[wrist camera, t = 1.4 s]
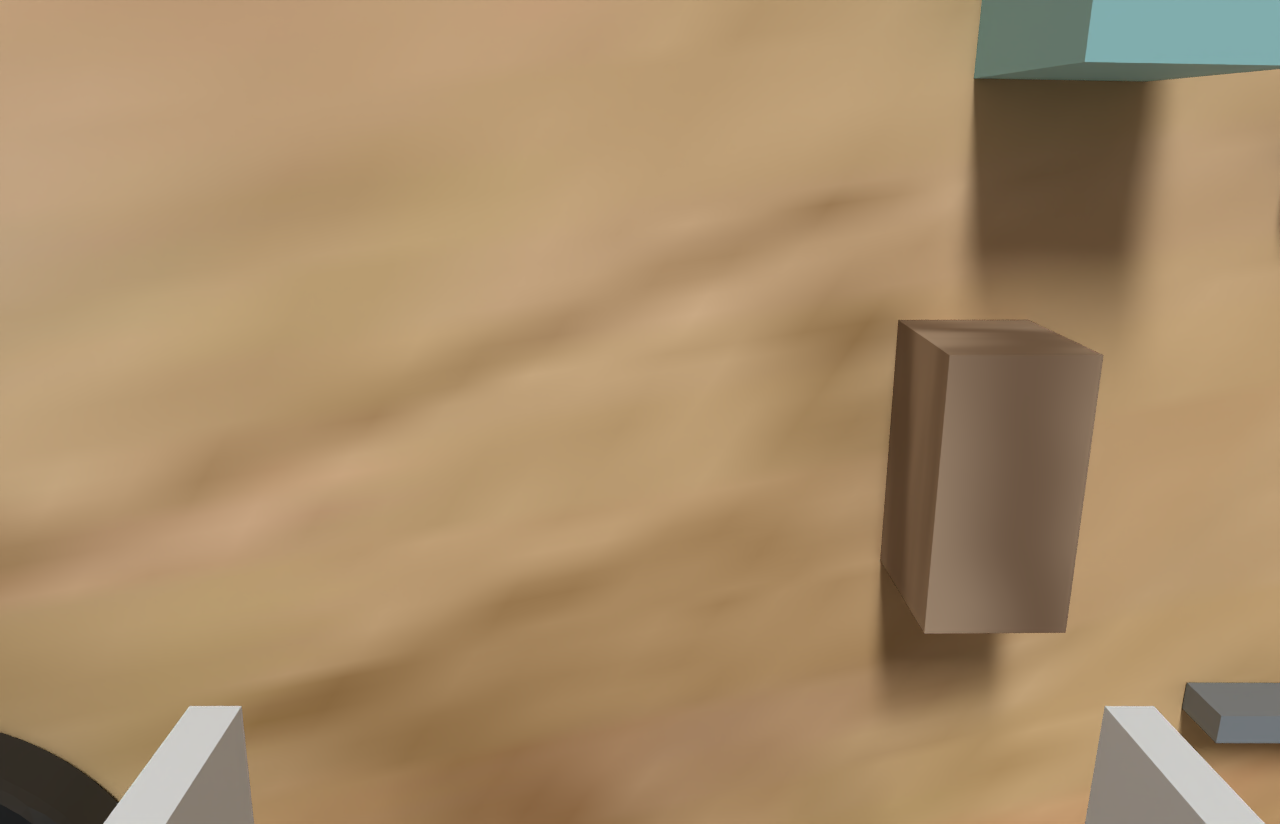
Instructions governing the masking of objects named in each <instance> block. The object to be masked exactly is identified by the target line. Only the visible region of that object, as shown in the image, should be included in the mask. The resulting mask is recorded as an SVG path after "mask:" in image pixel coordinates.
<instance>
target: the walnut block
mask: <svg viewBox="0 0 1280 824" xmlns="http://www.w3.org/2000/svg"><path fill="white" fill-rule="evenodd" d="M1102 361H1103V355H1102V354H1100V353H1098V352H1096V351H1094V350H1091V349H1089V348H1087V347H1085V346H1083V345H1081V344H1079V343H1077V342H1074V341H1072V340H1070V339H1068V338H1066V337H1064V336H1062V335H1060V334H1057V333H1055V332H1053V331H1051V330H1049V329H1047V328H1045V327H1042V326H1040V325H1038V324H1036V323H1034V322H1032V321H1030V320H898V333H897V346H896V360H895V373H894V386H893V399H892V412H891V426H890V439H889V452H888V465H887V479H886V492H885V505H884V518H883V532H882V545H881V558H880V561H881V562H882V564H883V566H884V567H885V569H886V571H887V572H888V574H889V576H890V577H891V579H892V581H893V582H894V584H895V586H896V587H897V589H898V591H899V592H900V594H901V596H902V597H903V599H904V601H905V602H906V604H907V606H908V607H909V609H910V611H911V612H912V614H913V616H914V617H915V619H916V621H917V622H918V624H919V626H920V627H921V629H922V631H923V632H924V634H939V633H1066V625H1067V618H1068V611H1069V603H1070V596H1071V589H1072V581H1073V574H1074V567H1075V559H1076V552H1077V545H1078V537H1079V530H1080V523H1081V515H1082V508H1083V501H1084V493H1085V486H1086V479H1087V471H1088V464H1089V457H1090V449H1091V442H1092V435H1093V427H1094V420H1095V413H1096V405H1097V398H1098V391H1099V383H1100V376H1101V369H1102Z"/></svg>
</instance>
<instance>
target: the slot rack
mask: <svg viewBox="0 0 1280 824" xmlns="http://www.w3.org/2000/svg"><path fill="white" fill-rule="evenodd" d="M1182 709H1183V710H1184V711H1185V712H1186V713H1187V714H1188V715H1189V716H1190V717H1191V718H1192V719H1193V720H1194V721H1195V722H1196V723H1197V724H1198V725H1199V726H1200V727H1201V728H1202V729H1203V730H1204V731H1205V732H1206V733H1207V734H1208V735H1209V736H1210V737H1211V738H1212V739H1213V741H1214V742H1215V743H1280V683H1187V686H1186V691H1185V696H1184V701H1183V707H1182Z"/></svg>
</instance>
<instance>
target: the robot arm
mask: <svg viewBox="0 0 1280 824" xmlns="http://www.w3.org/2000/svg"><path fill="white" fill-rule="evenodd" d="M0 824H254V820H253V810H252V801H251V791H250V782H249V772H248V763H247V753H246V744H245V734H244V725H243V716H242V706H189V708H188V709H187V710H186V712H185V713H184V714H183V716H182V717H181V718H180V720H179V721H178V723H177V724H176V725H175V727H174V728H173V729H172V731H171V732H170V733H169V735H168V736H167V738H166V739H165V740H164V742H163V743H162V744H161V746H160V747H159V748H158V750H157V751H156V753H155V754H154V755H153V757H152V758H151V759H150V761H149V762H148V763H147V765H146V766H145V767H144V769H143V770H142V772H141V773H140V774H139V776H138V777H137V778H136V780H135V781H134V782H133V784H132V785H131V787H130V788H129V789H128V791H127V792H126V793H125V795H124V796H123V797H122V799H121V800H120V802H119V803H117V802H116V801H115V800H114V799H113V798H112V797H111V796H110V795H109V794H108V793H107V792H106V791H105V790H104V789H102V788H101V787H100V786H99V785H98V784H97V783H95V782H94V781H93V780H91V779H90V778H89V777H87V776H86V775H85V774H83V773H82V772H81V771H79V770H78V769H76V768H75V767H73V766H72V765H70V764H69V763H67V762H65V761H64V760H62V759H60V758H58V757H56V756H55V755H53V754H51V753H49V752H47V751H45V750H43V749H41V748H39V747H37V746H35V745H32V744H30V743H28V742H25V741H23V740H20V739H18V738H15V737H12V736H9V735H6V734H4V733H0ZM1085 824H1265V823H1264V822H1263V821H1262V820H1261V819H1260V818H1259V817H1258V816H1257V815H1256V814H1255V813H1254V812H1253V811H1252V810H1251V808H1250V807H1249V806H1248V805H1247V804H1246V803H1245V802H1244V801H1243V800H1242V799H1241V798H1240V797H1239V796H1238V795H1237V794H1236V793H1235V792H1234V790H1233V789H1232V788H1231V787H1230V786H1229V785H1228V784H1227V783H1226V782H1225V781H1224V780H1223V779H1222V778H1221V777H1220V776H1219V775H1218V774H1217V773H1216V771H1215V770H1214V769H1213V768H1212V767H1211V766H1210V765H1209V764H1208V763H1207V762H1206V761H1205V760H1204V759H1203V758H1202V757H1201V756H1200V755H1199V753H1198V752H1197V751H1196V750H1195V749H1194V748H1193V747H1192V746H1191V745H1190V744H1189V743H1188V742H1187V741H1186V740H1185V739H1184V738H1183V737H1182V736H1181V734H1180V733H1179V732H1178V731H1177V730H1176V729H1175V728H1174V727H1173V726H1172V725H1171V724H1170V723H1169V722H1168V721H1167V720H1166V719H1165V718H1164V717H1163V715H1162V714H1161V713H1160V712H1159V711H1158V710H1157V709H1156V708H1155V707H1154V706H1105V708H1104V714H1103V720H1102V726H1101V732H1100V738H1099V744H1098V750H1097V756H1096V762H1095V768H1094V773H1093V779H1092V785H1091V791H1090V797H1089V803H1088V809H1087V815H1086V821H1085Z"/></svg>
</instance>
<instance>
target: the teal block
mask: <svg viewBox="0 0 1280 824" xmlns="http://www.w3.org/2000/svg"><path fill="white" fill-rule="evenodd" d="M1273 69H1280V0H982V5H981V15H980V25H979V34H978V44H977V54H976V63H975V73H974V78H981V79H1037V80H1094V81H1156V80H1167V79H1177V78H1188V77H1199V76H1209V75H1220V74H1230V73H1241V72H1252V71H1262V70H1273Z"/></svg>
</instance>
